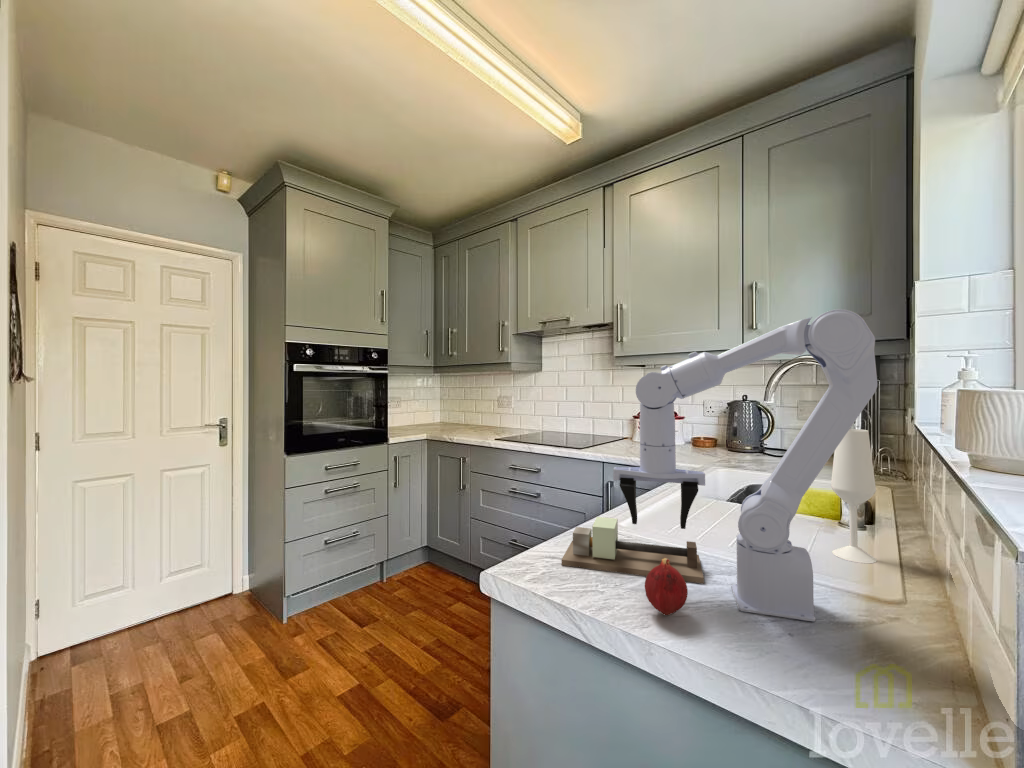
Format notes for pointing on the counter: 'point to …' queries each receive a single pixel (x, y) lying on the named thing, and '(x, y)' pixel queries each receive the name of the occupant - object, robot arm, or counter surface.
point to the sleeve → (605, 537)
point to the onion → (666, 588)
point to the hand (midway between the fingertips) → (658, 524)
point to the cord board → (633, 557)
